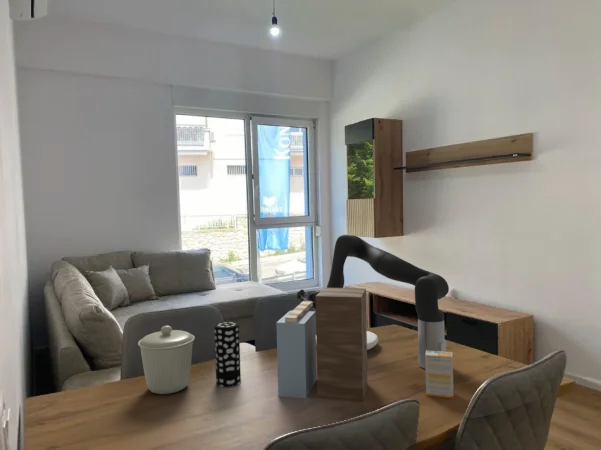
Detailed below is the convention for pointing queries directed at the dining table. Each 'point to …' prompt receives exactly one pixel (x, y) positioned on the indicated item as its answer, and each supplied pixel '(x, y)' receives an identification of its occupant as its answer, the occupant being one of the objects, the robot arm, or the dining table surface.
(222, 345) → the white-spotted black cylinder
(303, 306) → the slat
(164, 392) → the canister
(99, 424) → the dining table surface
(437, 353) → the supplement box
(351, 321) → the walnut box
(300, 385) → the gray rectangular box
